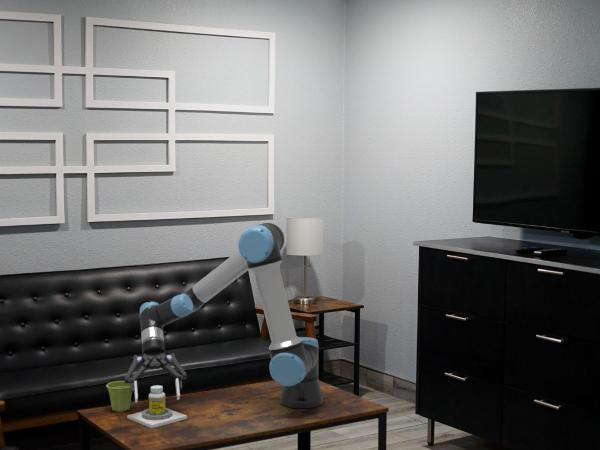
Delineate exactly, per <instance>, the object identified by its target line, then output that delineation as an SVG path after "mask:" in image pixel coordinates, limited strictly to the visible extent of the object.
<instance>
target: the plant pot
mask: <svg viewBox="0 0 600 450" xmlns="http://www.w3.org/2000/svg"><path fill="white" fill-rule="evenodd" d="M106 388H107V391H108V395H109V400H110V404H111V405H110V406H111V410H112V411H113V412H114V411H115V412H116V413H117V412H118V413H119V412H120V413H121V412H126V411H127V410H128V411H129V410H131V405H132V394H133V393H132V392H131V385H130V384H129V383H125V380H118V381H112V382H108V383H107V384H106Z"/></svg>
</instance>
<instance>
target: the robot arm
mask: <svg viewBox="0 0 600 450" xmlns="http://www.w3.org/2000/svg"><path fill="white" fill-rule="evenodd" d="M284 245H285V235H284V232H283V230H282V229H281V228H280V227H279V226H278V225H277V224H274V223H271V222H263V223H260V224H256V225H253V226H250V227H248V228H247V229H245V230H244V231H243V232H242V233H241V235H240V236H239V239H238V245H237V247H238V250H236V252H235V253H233V254H232V255H231V256H230V257H228V258H227V259H226V260H224V261H223V262H222V263H221V264H219V265H218V266H217V267H215V268H214V269H212V270H211V271H210V272H209V273H208V274H207V275H205V276H204V277H203V278H201V279H200V280H199V281H197V282H195V284H194V285H193V286H191V287H190V288H189V289H187V290H186V291H185V292H183V293H181V294H177V295H175V296H173V297H171V298H169V299H168V300H165V301H164V302H162V303H158V302H156V301H149V302H148V301H147V302H144V303H142V304H141V306H140V307H139V316H138V317H139V321H140V334H141V335H140V336H141V339H140V340H141V350H142V351H141V352H142V356H138V355H137V354H134V355H133V361H132V362H131V365H130V367H129V369H128V371H127V373H126V374H125V376H124V381H125V383H129V384H130V385H131V392H132V394H134V403H136V404H137V403H138V400H139V398H138V397H139V393H138V382H137V381H138V379H140V377H141V376H142V375H143V374H144V373H145V372H146V371H147V370H148V369H149V370H155V369H156V370H159V369H162V370H163V371H166V373H168V374H169V375H170V376H171V377H172V378H173V379H175V383H174V384H175V392H176V393H175V395H176V400H178V401H179V400H180V396H181V393H180V392H181V391H180V390H183V381H185V380H187V376H188V375H187V373H186V371H185V369H184V368H183V367H182V366H181V364H180V363H179V361H178V360H177V358H176V354H175V353H174V352H172V353H171V354H168V355H167V354H166V349H165V340H164V339H165V338H164V327H165V326H167V325H169V324H171V323H174V322H176V321H177V320H180V319H182V318H185V317H187V316H188V315H190V314H192V313H195V312H197V311H198V310H200V308H202V306H203V305H205V303H207V302H209V301H210V300H211V299H212V298H214V297H215V296H217V294H219V293H220V292H222V290H224V289H225V288H227V287H228V286H229V285H231V284H232V283H233V282H235V281H236V280H237V279H239V278H241V276H242V275H244V274H245V273H247V272H248V271H251V272H252V273H253V274H254V278H255V282H256V285H257V288H258V289H257V290H258V294H259V297H260V302H261V306H262V309H263V313H264V317H265V321H266V325H267V329H268V333H269V334H268V335H269V337H270V338H269V339H270V341H271V343H270V345H269V347H268V352H269V356H270V362H269V367H268V368H269V373H270V376H271V378H272V380H273V381H275V382H276V383H277V384H279V385H281V386H282V390H281V393H280V395H279V403H280V404H281V405H282V406H284V407H287V408H290V409H311V408H317V407H319V406H322V405H323V404H324V395H323V393H322V389H321V386H320V382H319V349H320V348H319V347H320V346H319V342H318V339H316V338H314V337H307V336H297V332H296V328H295V324H294V319H293V316H292V313H291V309H290V304H289V300H288V296H287V293H286V289H285V285H284V281H283V278H282V272H281V270H280V269H281V268H280V265H281V264H282V262H283V258H282V254H281V251H282V249H283V247H284ZM167 360H168V361H169V362H171V364H172V366H173V367H174V368H173V367H172V366H170V364H169V363H168V362H167ZM140 362H142V364H141V366H140V367H139V369H138V370H137V371H136V372H135V369H136V368H137V365H138V364H140ZM134 372H135V373H134ZM133 374H134V375H133Z"/></svg>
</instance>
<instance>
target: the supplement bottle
mask: <svg viewBox="0 0 600 450" xmlns="http://www.w3.org/2000/svg"><path fill="white" fill-rule="evenodd" d="M163 390H164V388H163V385H158V384H156V385H152V386H150V393H149V394H148V409H149V415H154V416H156V415H164V414H166V408H167V407H166V393H165V392H164V391H163Z"/></svg>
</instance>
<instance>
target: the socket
mask: <svg viewBox="0 0 600 450" xmlns="http://www.w3.org/2000/svg"><path fill="white" fill-rule="evenodd" d="M165 408H166V414H164V415H156V416H154V415H149V408H146V409H144V410H143V411H140V412H136V413H135V412H134V413H132V414H128V415H126V417H127V418H126V419H128V420H131V421H133V422H136V423H138V424H141V425H143V426H146V427H148V428H151V429H154V428H158V427H161V426H165V425H169V424H172V423H176V422H180V421H183V420H187V419H188V415H186V414H184V413H181V412H178V411H175V410H173V409H171V408H168V407H165Z"/></svg>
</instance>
